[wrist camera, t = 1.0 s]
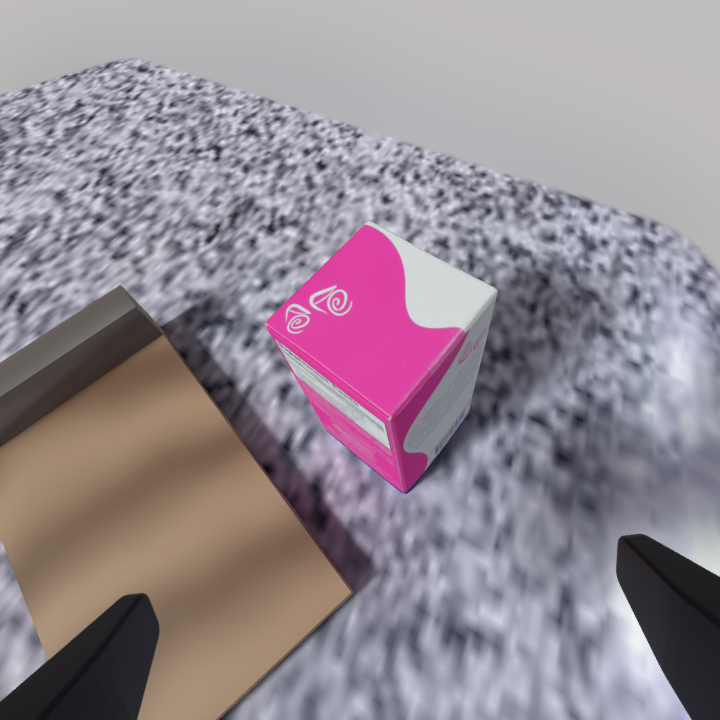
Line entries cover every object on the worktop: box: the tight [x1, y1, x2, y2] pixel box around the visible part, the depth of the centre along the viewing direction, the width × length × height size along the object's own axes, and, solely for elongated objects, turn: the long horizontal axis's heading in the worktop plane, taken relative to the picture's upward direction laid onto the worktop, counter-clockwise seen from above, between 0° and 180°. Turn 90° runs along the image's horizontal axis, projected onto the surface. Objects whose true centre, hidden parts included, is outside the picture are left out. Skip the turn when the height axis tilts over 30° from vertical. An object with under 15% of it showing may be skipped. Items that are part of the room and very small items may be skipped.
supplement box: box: [265, 221, 498, 494], centre depth 20 cm, size 6×6×12 cm
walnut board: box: [0, 285, 355, 720], centre depth 22 cm, size 20×12×4 cm, turn 40°
